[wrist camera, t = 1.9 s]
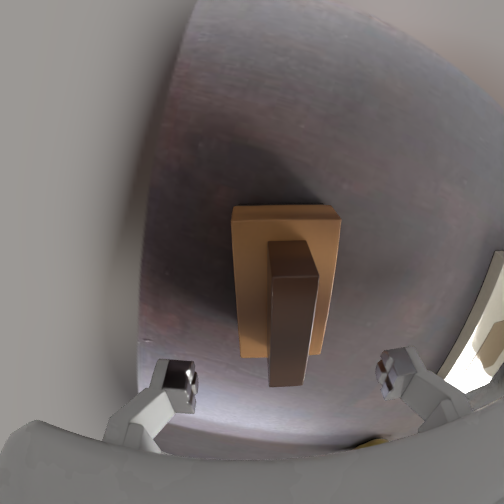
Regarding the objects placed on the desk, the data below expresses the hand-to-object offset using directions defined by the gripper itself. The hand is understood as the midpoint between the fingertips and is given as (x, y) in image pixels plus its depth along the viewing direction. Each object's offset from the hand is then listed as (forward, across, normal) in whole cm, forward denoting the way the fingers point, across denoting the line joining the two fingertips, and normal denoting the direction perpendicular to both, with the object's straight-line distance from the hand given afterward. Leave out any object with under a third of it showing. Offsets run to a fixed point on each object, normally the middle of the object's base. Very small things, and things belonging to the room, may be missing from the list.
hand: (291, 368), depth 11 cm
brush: (+7, 0, 0) cm, 7 cm away
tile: (+7, -24, +8) cm, 26 cm away
